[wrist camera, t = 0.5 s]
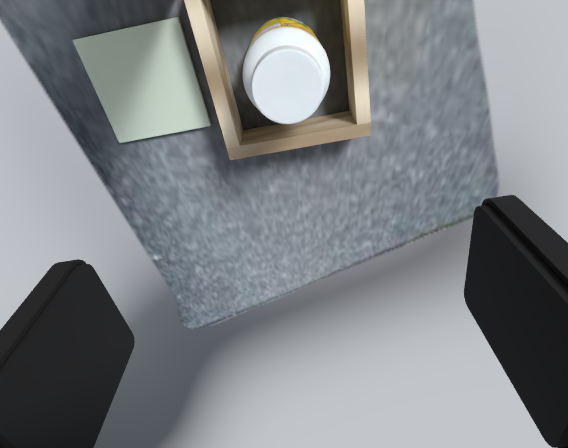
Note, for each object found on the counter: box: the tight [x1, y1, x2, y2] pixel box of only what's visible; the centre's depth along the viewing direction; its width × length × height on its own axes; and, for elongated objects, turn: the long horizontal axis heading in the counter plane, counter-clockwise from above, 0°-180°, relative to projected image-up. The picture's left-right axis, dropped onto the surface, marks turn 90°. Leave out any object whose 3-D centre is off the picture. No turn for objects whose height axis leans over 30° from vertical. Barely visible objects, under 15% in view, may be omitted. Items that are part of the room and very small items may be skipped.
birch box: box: [184, 0, 371, 160], centre depth 26 cm, size 12×11×4 cm
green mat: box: [72, 17, 211, 143], centre depth 29 cm, size 8×8×1 cm
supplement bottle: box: [243, 17, 330, 124], centre depth 24 cm, size 5×5×10 cm
